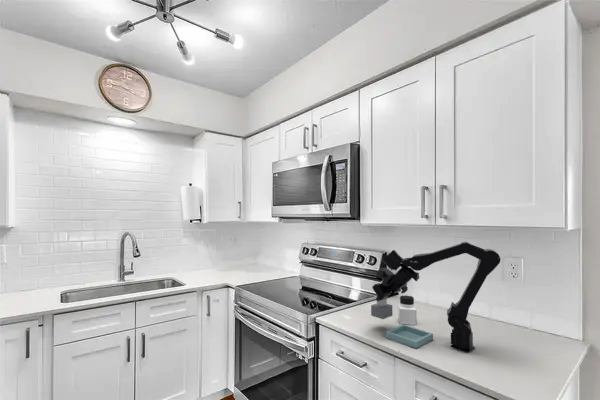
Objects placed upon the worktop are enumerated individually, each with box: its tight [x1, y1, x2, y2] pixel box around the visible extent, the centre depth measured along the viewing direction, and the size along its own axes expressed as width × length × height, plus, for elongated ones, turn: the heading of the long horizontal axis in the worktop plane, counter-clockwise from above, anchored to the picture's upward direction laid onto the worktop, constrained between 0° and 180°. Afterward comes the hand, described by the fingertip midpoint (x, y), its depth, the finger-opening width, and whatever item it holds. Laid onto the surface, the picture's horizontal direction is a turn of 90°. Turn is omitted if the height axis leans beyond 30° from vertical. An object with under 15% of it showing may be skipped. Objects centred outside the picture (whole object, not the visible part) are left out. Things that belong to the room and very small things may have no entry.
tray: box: [385, 324, 434, 350], centre depth 122 cm, size 13×13×2 cm
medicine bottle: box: [397, 294, 417, 326], centre depth 141 cm, size 7×7×12 cm
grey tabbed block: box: [370, 298, 393, 320], centre depth 132 cm, size 6×7×9 cm
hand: (378, 299), depth 133 cm, fingers closed on grey tabbed block, 3 cm apart
